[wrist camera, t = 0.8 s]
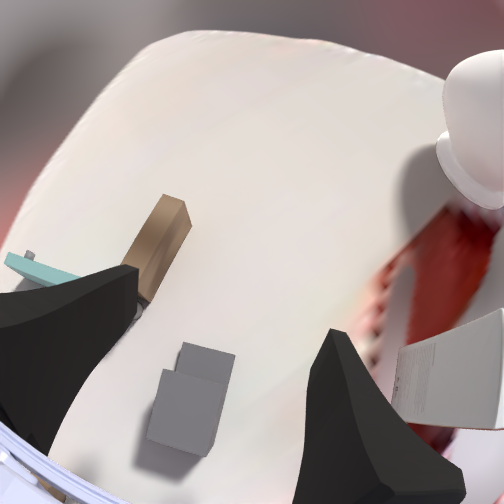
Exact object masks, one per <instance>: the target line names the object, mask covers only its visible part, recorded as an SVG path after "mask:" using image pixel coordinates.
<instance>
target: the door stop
mask: <svg viewBox="0 0 504 504" xmlns="http://www.w3.org/2000/svg"><path fill="white" fill-rule="evenodd" d="M234 360H235V355H234V354H230V353H225V352H221V351H217V350H213V349H209V348H205V347H201V346H198V345H194V344H190V343H186V342H183V345H182V348H181V352H180V356H179V360H178V363H177V367H176V371H171V370H167V369H163V371H162V375H161V378H160V382H159V386H158V390H157V394H156V398H155V402H154V406H153V410H152V414H151V418H150V422H149V426H148V431H147V435H146V439H148V440H151V441H154V442H157V443H160V444H163V445H166V446H169V447H172V448H175V449H178V450H182V451H185V452H188V453H192V454H195V455H199V456H203V457H206V456H207V454H208V453H209V451H210V450H211V448H212V447H213V445H214V441H215V437H216V433H217V429H218V425H219V421H220V417H221V413H222V409H223V405H224V401H225V396H226V392H227V388H228V384H229V380H230V376H231V372H232V368H233V364H234Z"/></svg>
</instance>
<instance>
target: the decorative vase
mask: <svg viewBox="0 0 504 504" xmlns="http://www.w3.org/2000/svg"><path fill="white" fill-rule="evenodd" d="M442 99H443V109H444V114H445V119H446V124H447V128H448V131H447V132H445V133H443V134H442V135H441V136H440V137H439V139H438V141H437V144H436V154H437V158H438V161H439V163H440V165H441V167H442V169H443V171H444V173H445V174H446V176H447V177H448V179H449V180H450V181H451V183H452V184H453V185H454V186H455V187H456V188H457V189H458V190H459V191H460V192H461V193H462V194H463V195H464V196H465V197H466V198H468V199H469V200H470V201H472V202H473V203H475V204H477V205H479V206H481V207H483V208H486V209H491V210H496V209H499V208H501V207H503V206H504V50H495V51H489V52H484V53H481V54H478V55H475V56H472V57H470V58H467V59H466V60H464V61H462V62H461V63H459V64H458V65H457V66H456V67H455V68H454V69H453V70H452V71H451V73H450V74H449V76H448V78H447V79H446V82H445V84H444V88H443V96H442Z"/></svg>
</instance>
